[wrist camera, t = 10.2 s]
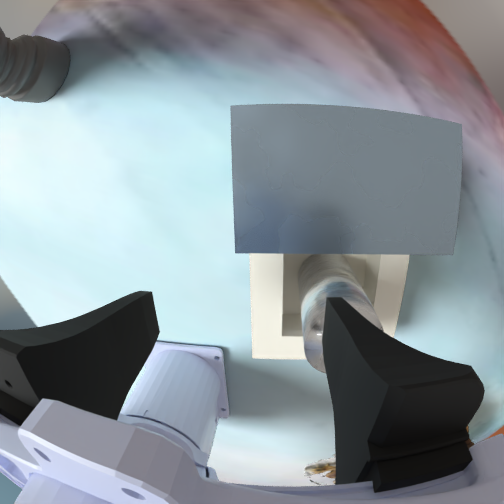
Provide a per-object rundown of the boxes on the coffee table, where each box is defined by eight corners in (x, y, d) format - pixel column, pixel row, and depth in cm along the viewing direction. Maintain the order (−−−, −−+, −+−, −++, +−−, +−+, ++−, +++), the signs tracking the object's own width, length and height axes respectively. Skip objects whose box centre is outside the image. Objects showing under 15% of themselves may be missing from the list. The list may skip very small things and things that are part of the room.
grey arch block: (391, 215, 20) (452, 254, 11) (254, 212, 21) (235, 253, 12) (393, 133, 18) (461, 124, 9) (252, 127, 19) (230, 105, 10)
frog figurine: (399, 463, 30) (403, 483, 27) (327, 489, 34) (328, 508, 30) (375, 434, 28) (380, 458, 24) (290, 465, 31) (289, 488, 28)
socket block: (375, 327, 23) (388, 355, 19) (257, 328, 24) (252, 358, 20) (392, 208, 20) (413, 220, 16) (254, 205, 21) (248, 216, 17)
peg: (354, 250, 20) (391, 307, 12) (349, 301, 21) (375, 372, 14) (297, 250, 20) (306, 310, 13) (296, 302, 22) (301, 376, 14)
